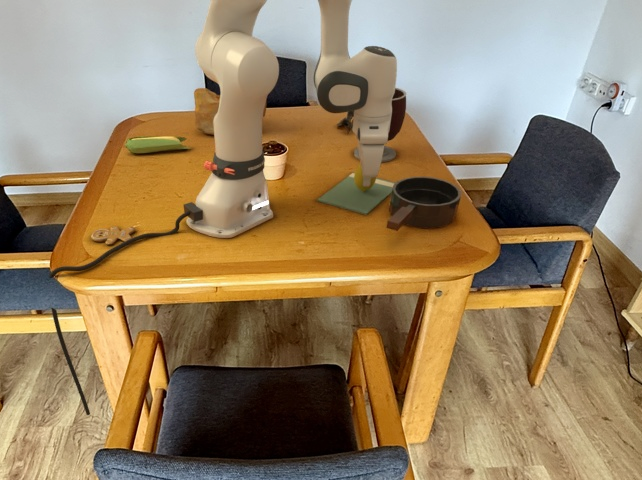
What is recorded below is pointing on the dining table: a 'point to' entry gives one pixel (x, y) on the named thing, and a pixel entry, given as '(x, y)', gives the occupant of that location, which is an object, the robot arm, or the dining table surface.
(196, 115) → the rough brown rock
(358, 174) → the lemon
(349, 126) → the eagle figurine
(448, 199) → the pan
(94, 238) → the cookie
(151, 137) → the edible corn
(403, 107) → the mate gourd
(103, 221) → the dining table surface
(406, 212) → the pan handle
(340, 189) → the tea towel
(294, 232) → the dining table surface
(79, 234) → the dining table surface
